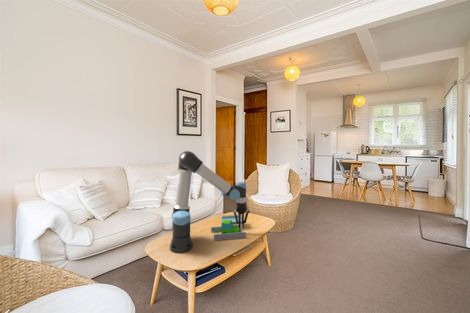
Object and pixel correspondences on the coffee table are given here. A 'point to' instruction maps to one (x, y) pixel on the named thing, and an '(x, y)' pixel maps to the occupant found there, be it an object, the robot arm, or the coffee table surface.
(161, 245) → the coffee table surface
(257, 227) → the coffee table surface
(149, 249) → the coffee table surface
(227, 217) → the cover
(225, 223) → the toy car
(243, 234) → the grey long bars
